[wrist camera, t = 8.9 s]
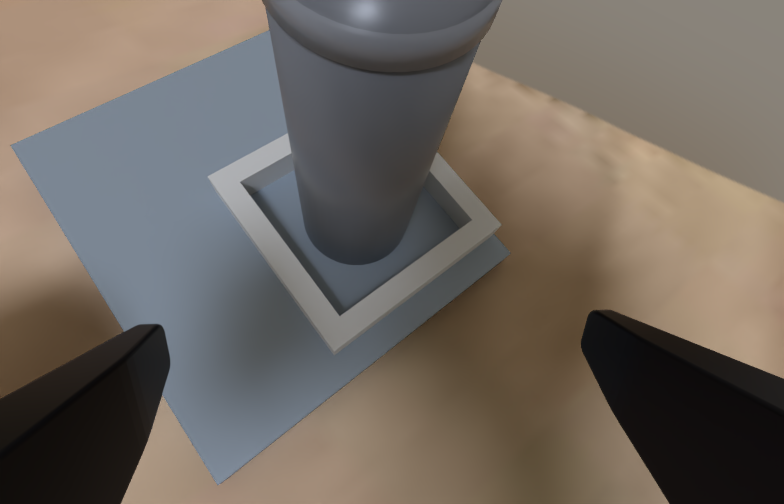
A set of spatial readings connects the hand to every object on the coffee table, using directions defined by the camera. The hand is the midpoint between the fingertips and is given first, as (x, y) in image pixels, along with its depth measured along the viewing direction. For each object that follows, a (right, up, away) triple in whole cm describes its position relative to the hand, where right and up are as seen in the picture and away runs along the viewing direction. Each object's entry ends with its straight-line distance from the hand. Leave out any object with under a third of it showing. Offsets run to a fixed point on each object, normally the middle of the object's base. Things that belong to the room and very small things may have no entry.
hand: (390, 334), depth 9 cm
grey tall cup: (-2, +3, +11) cm, 12 cm away
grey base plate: (-6, +4, +12) cm, 14 cm away
